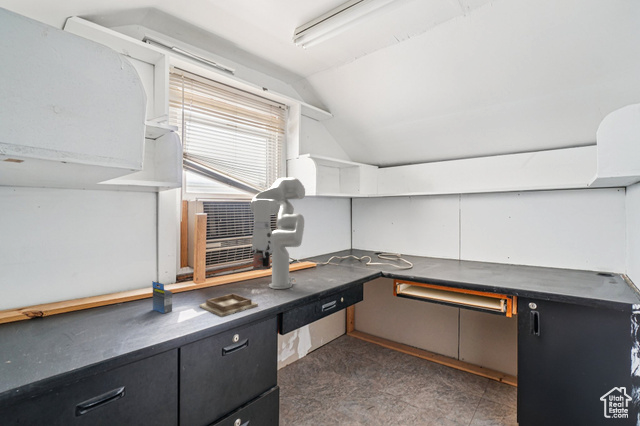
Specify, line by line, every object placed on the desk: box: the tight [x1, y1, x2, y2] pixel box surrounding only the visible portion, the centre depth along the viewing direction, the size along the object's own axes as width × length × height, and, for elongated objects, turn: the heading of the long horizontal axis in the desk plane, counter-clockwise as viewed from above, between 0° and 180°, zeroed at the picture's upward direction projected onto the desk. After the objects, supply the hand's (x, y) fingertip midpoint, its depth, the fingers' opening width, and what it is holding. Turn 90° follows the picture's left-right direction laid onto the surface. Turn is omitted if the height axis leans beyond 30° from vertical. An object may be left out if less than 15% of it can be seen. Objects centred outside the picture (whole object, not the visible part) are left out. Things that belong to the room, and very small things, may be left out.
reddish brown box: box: [252, 248, 272, 271], centre depth 141 cm, size 8×3×10 cm, turn 110°
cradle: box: [199, 292, 259, 317], centre depth 136 cm, size 18×18×3 cm
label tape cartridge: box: [151, 281, 173, 314], centre depth 130 cm, size 9×4×12 cm, turn 58°
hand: (261, 264), depth 141 cm, fingers closed on reddish brown box, 4 cm apart
